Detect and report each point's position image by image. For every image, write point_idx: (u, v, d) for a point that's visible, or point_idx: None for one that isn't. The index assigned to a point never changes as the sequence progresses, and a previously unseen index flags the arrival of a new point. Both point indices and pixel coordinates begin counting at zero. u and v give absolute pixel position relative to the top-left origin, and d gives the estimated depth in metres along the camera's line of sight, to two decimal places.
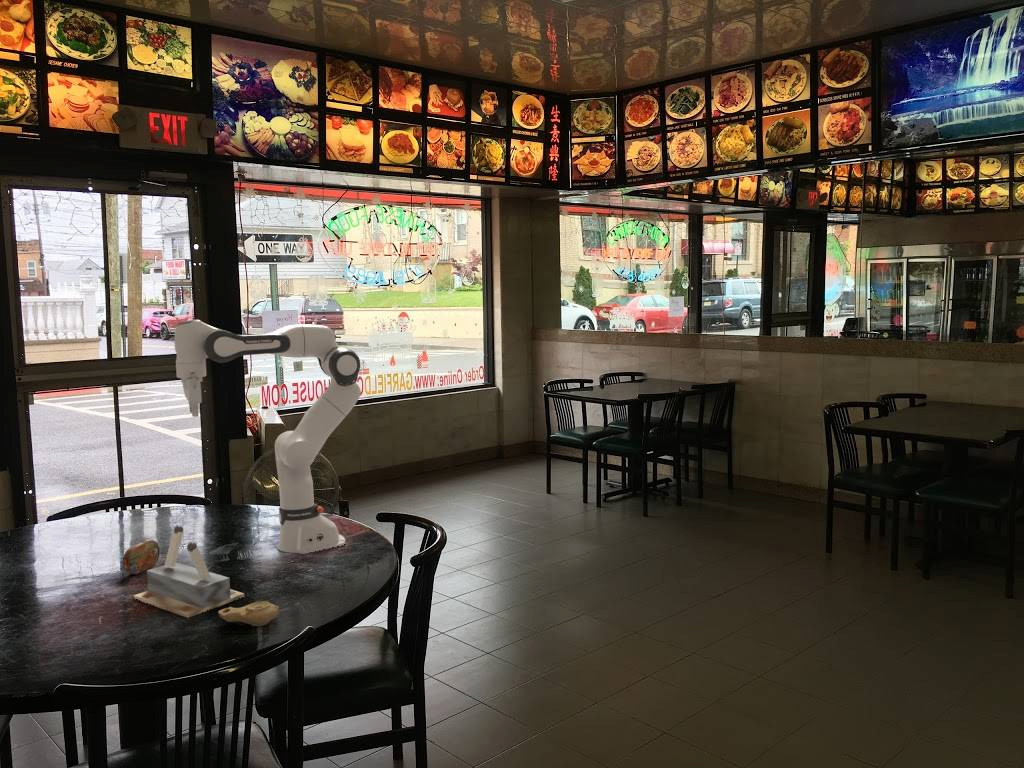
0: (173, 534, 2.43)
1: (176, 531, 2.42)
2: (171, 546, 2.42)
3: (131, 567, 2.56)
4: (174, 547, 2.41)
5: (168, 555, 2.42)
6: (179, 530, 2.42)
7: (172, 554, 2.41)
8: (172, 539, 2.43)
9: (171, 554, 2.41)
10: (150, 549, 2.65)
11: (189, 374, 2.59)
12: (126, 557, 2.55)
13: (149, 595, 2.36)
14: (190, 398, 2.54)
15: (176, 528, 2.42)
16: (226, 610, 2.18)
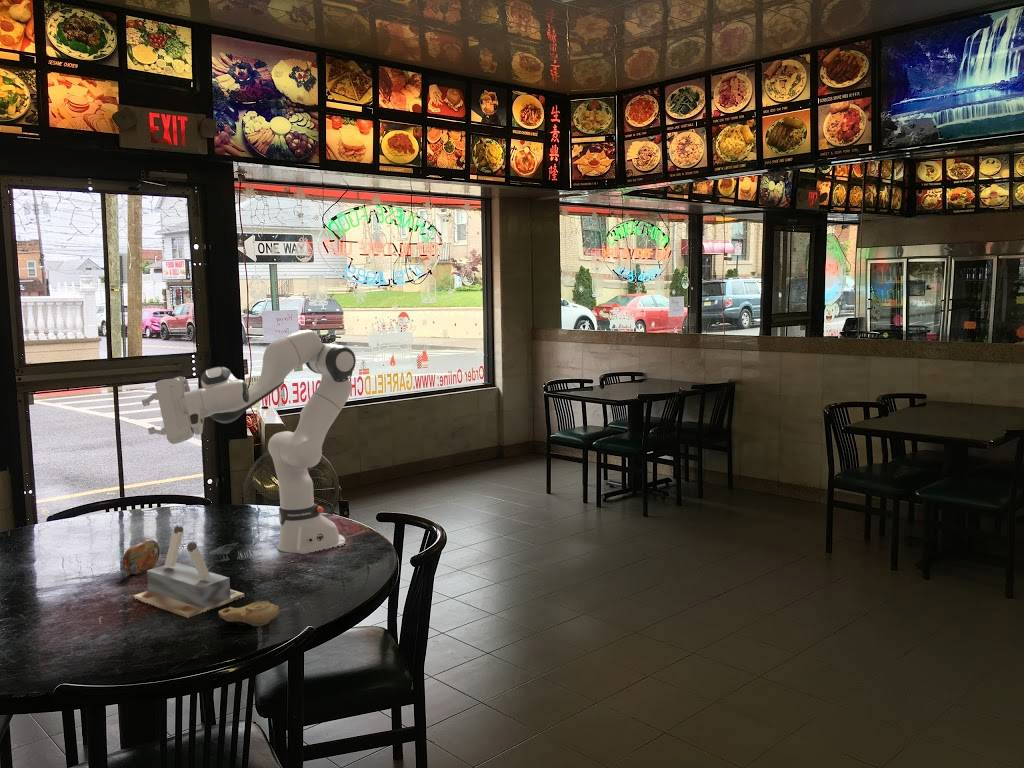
0: (173, 534, 2.43)
1: (176, 531, 2.42)
2: (171, 546, 2.42)
3: (131, 567, 2.56)
4: (174, 547, 2.41)
5: (168, 555, 2.42)
6: (179, 530, 2.42)
7: (172, 554, 2.41)
8: (172, 539, 2.43)
9: (171, 554, 2.41)
10: (150, 549, 2.65)
11: None
12: (126, 557, 2.55)
13: (149, 595, 2.36)
14: None
15: (176, 528, 2.42)
16: (226, 610, 2.18)
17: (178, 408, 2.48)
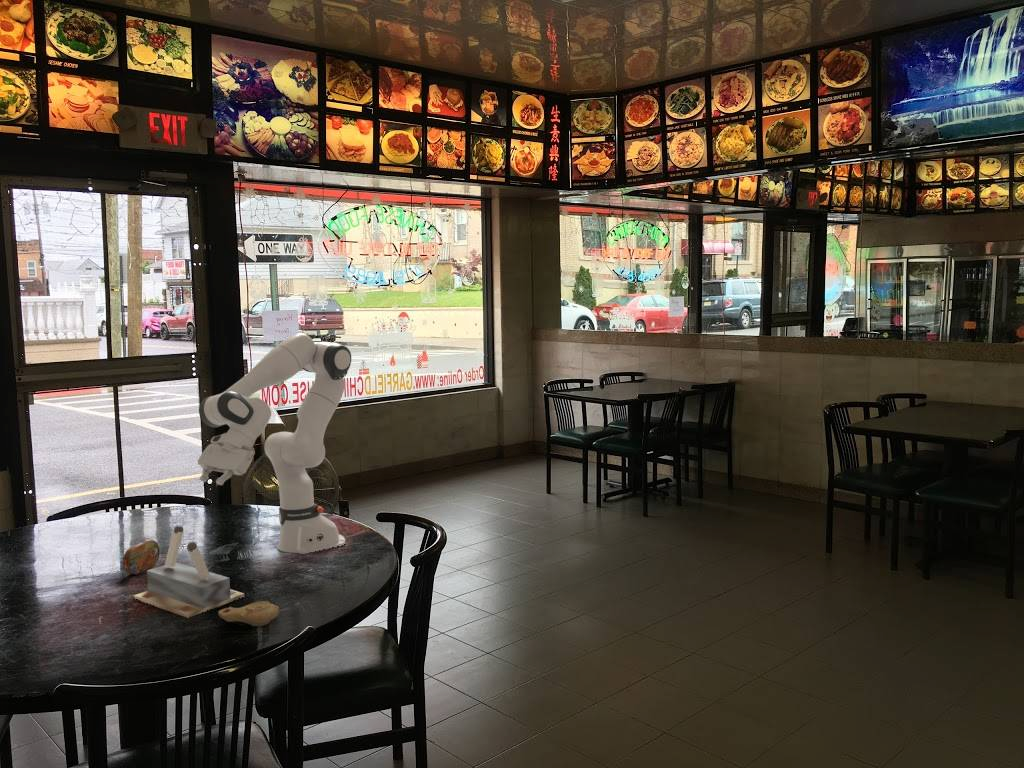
0: (173, 534, 2.43)
1: (176, 531, 2.42)
2: (171, 546, 2.42)
3: (131, 567, 2.56)
4: (174, 547, 2.41)
5: (168, 555, 2.42)
6: (179, 530, 2.42)
7: (172, 554, 2.41)
8: (172, 539, 2.43)
9: (171, 554, 2.41)
10: (150, 549, 2.65)
11: (241, 446, 2.55)
12: (126, 557, 2.55)
13: (149, 595, 2.36)
14: (239, 465, 2.48)
15: (176, 528, 2.42)
16: (226, 610, 2.18)
17: None
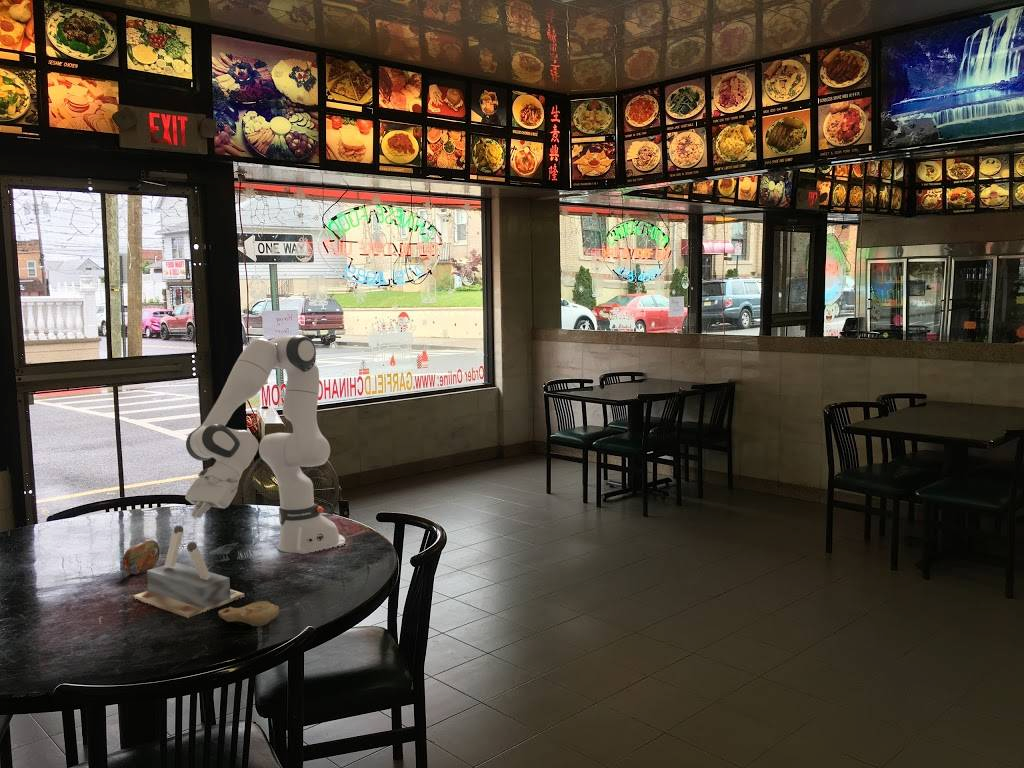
0: (173, 534, 2.43)
1: (176, 531, 2.42)
2: (171, 546, 2.42)
3: (131, 567, 2.56)
4: (174, 547, 2.41)
5: (168, 555, 2.42)
6: (179, 530, 2.42)
7: (172, 554, 2.41)
8: (172, 539, 2.43)
9: (171, 554, 2.41)
10: (150, 549, 2.65)
11: (226, 478, 2.51)
12: (126, 557, 2.55)
13: (149, 595, 2.36)
14: (222, 498, 2.44)
15: (176, 528, 2.42)
16: (226, 610, 2.18)
17: None
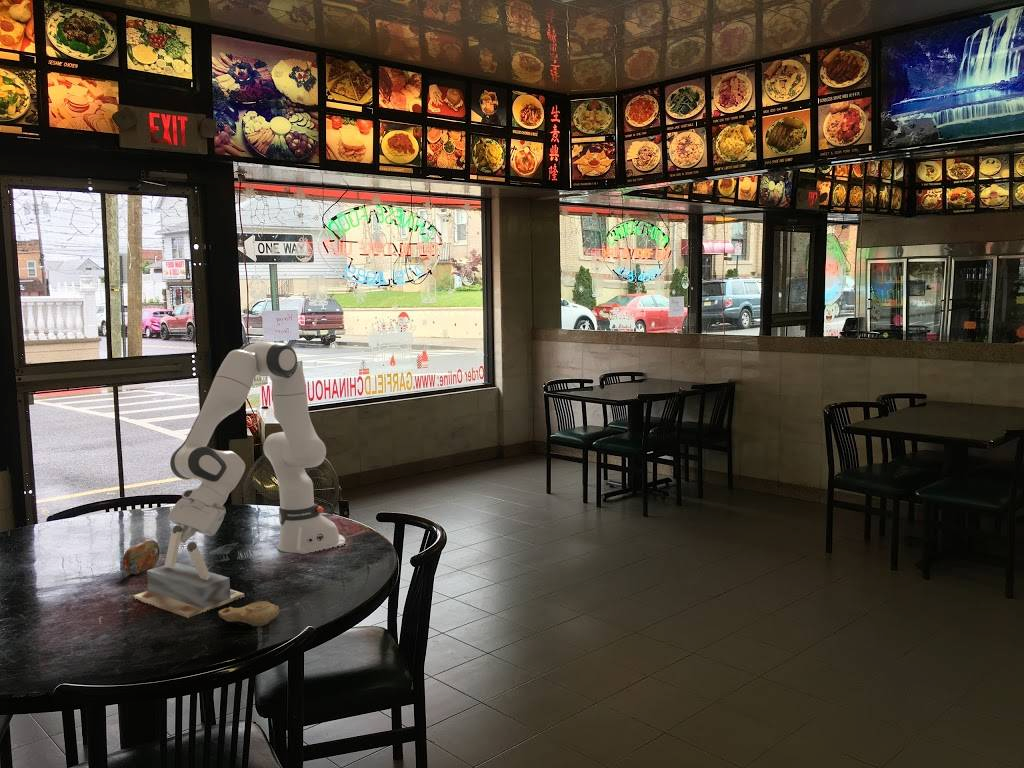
0: (172, 534, 2.43)
1: (174, 531, 2.42)
2: (170, 546, 2.42)
3: (131, 567, 2.56)
4: (173, 547, 2.41)
5: (168, 555, 2.42)
6: (178, 530, 2.42)
7: (172, 554, 2.41)
8: (171, 539, 2.42)
9: (171, 554, 2.41)
10: (150, 549, 2.65)
11: (212, 504, 2.46)
12: (126, 557, 2.55)
13: (149, 595, 2.36)
14: (209, 527, 2.40)
15: (175, 528, 2.42)
16: (226, 610, 2.18)
17: None
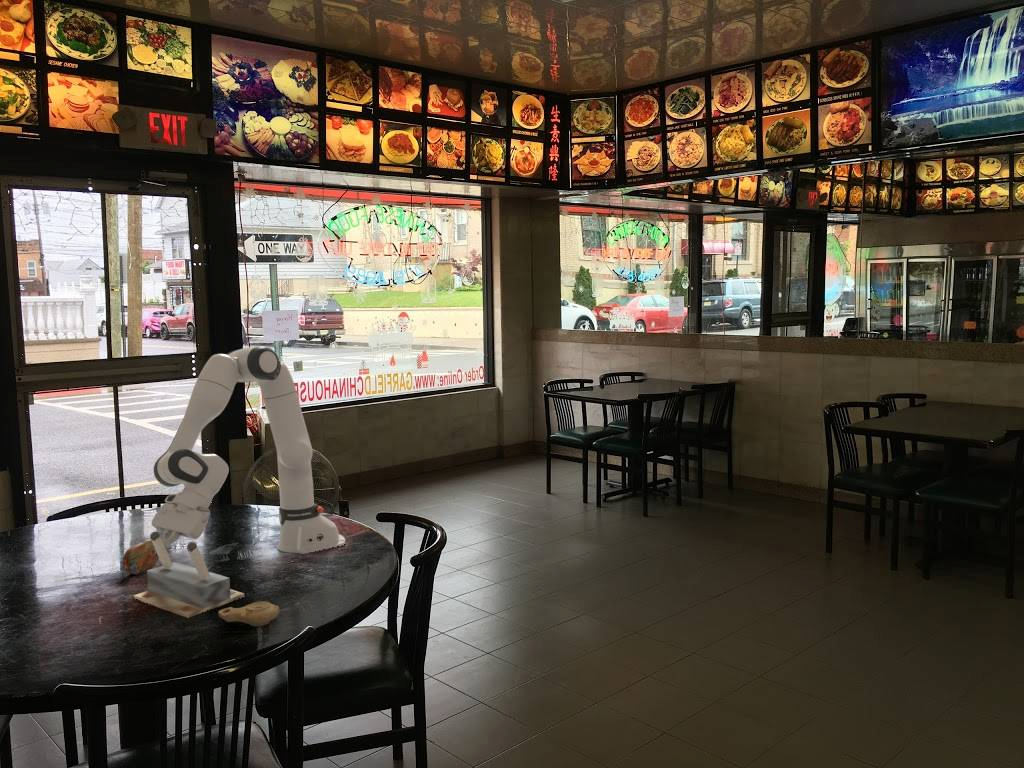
0: (153, 541, 2.38)
1: (153, 539, 2.36)
2: (157, 551, 2.39)
3: (131, 567, 2.56)
4: (161, 552, 2.38)
5: (161, 559, 2.40)
6: (155, 537, 2.36)
7: (163, 558, 2.39)
8: (155, 545, 2.38)
9: (162, 558, 2.39)
10: (150, 549, 2.65)
11: (196, 507, 2.43)
12: (126, 557, 2.55)
13: (149, 595, 2.36)
14: (193, 529, 2.36)
15: (151, 537, 2.36)
16: (226, 610, 2.18)
17: None
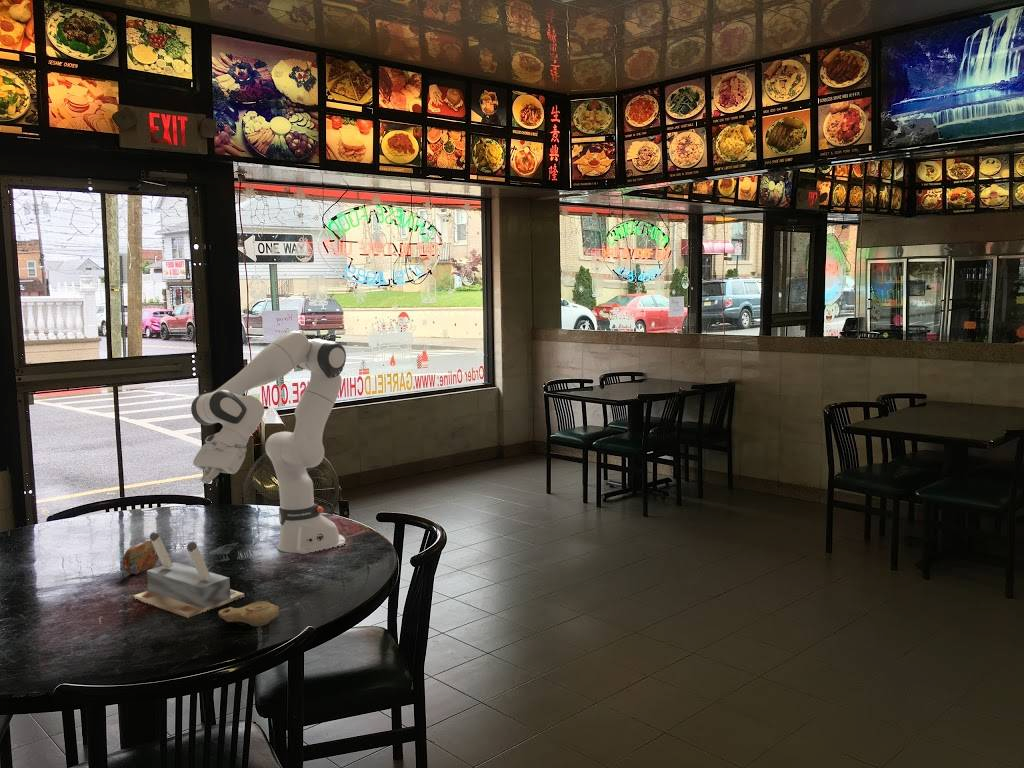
0: (152, 541, 2.38)
1: (152, 540, 2.36)
2: (157, 551, 2.39)
3: (131, 567, 2.56)
4: (161, 552, 2.38)
5: (160, 559, 2.40)
6: (155, 538, 2.36)
7: (163, 558, 2.39)
8: (154, 546, 2.38)
9: (162, 558, 2.39)
10: (150, 549, 2.65)
11: (234, 444, 2.53)
12: (126, 557, 2.55)
13: (149, 595, 2.36)
14: (231, 464, 2.45)
15: (151, 537, 2.36)
16: (226, 610, 2.18)
17: None
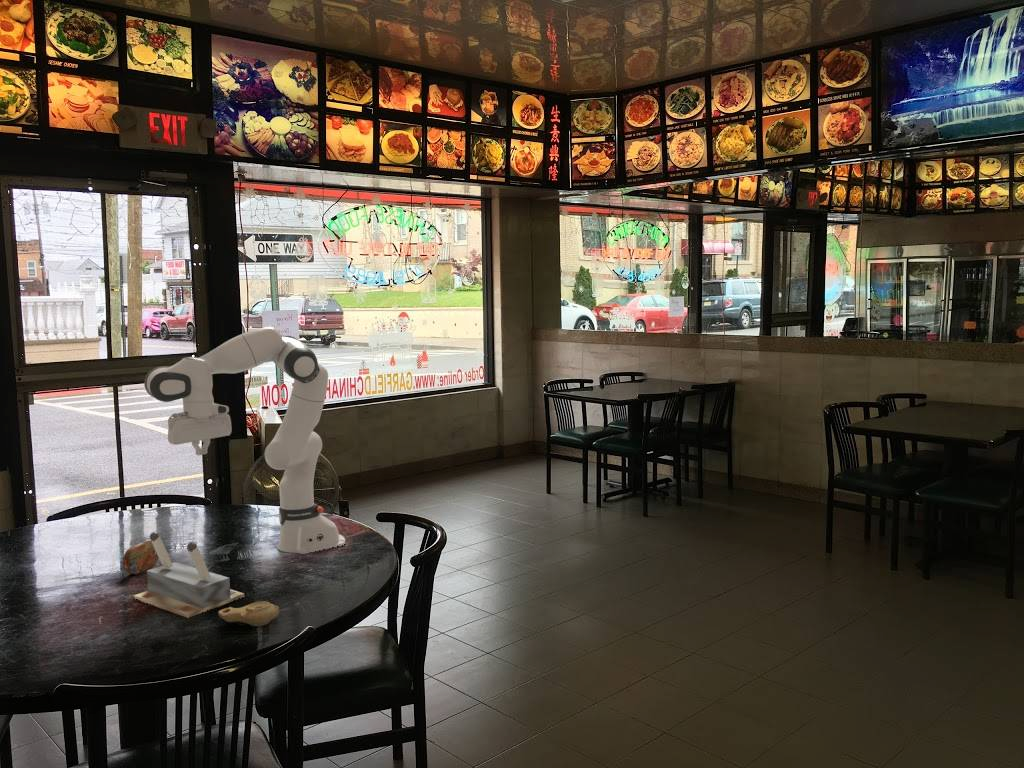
0: (152, 541, 2.38)
1: (152, 540, 2.36)
2: (157, 551, 2.39)
3: (131, 567, 2.56)
4: (161, 552, 2.38)
5: (160, 559, 2.40)
6: (155, 538, 2.36)
7: (163, 558, 2.39)
8: (154, 546, 2.38)
9: (162, 558, 2.39)
10: (150, 549, 2.65)
11: None
12: (126, 557, 2.55)
13: (149, 595, 2.36)
14: (168, 438, 2.47)
15: (151, 537, 2.36)
16: (226, 610, 2.18)
17: (204, 423, 2.54)
